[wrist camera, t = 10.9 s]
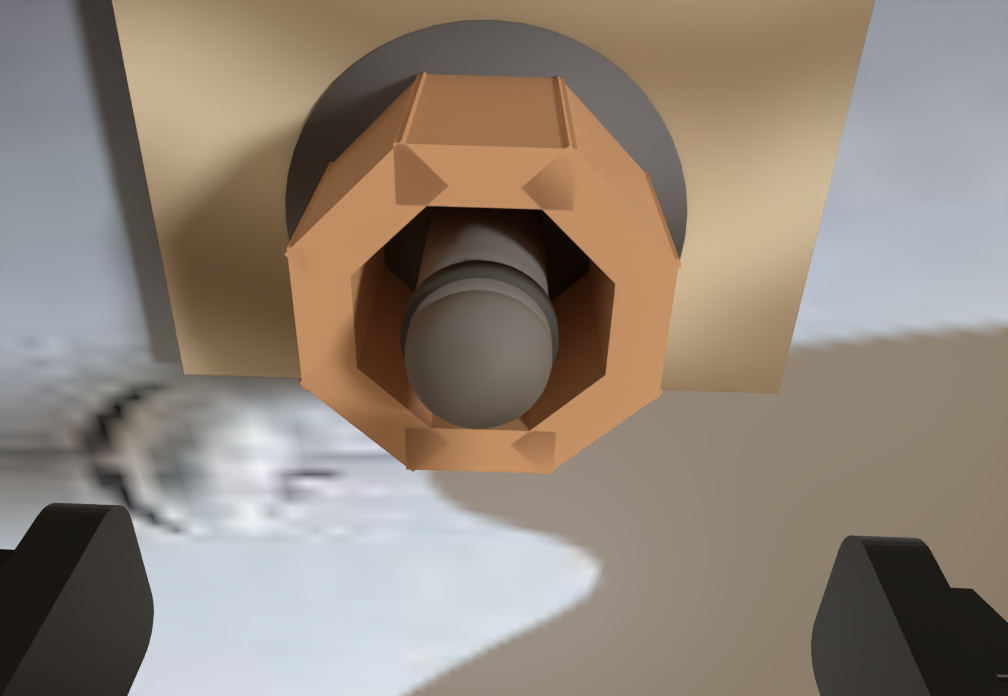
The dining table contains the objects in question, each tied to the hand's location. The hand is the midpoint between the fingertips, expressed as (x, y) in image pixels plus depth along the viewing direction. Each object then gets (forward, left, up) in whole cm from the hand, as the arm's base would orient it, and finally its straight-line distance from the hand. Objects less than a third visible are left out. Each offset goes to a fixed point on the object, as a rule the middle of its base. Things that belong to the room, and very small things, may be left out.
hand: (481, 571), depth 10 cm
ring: (0, 0, -10) cm, 10 cm away
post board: (-4, 0, -11) cm, 12 cm away
